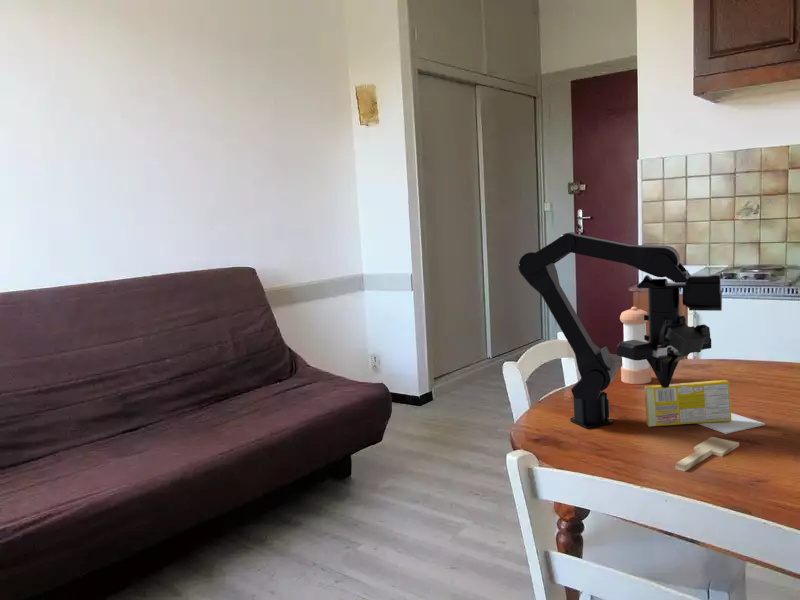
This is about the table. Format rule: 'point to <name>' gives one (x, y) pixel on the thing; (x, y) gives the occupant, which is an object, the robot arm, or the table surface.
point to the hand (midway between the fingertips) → (664, 387)
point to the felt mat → (733, 424)
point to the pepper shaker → (635, 331)
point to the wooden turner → (706, 452)
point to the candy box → (688, 403)
